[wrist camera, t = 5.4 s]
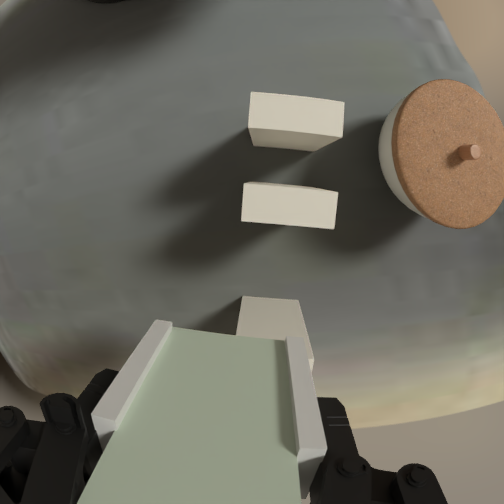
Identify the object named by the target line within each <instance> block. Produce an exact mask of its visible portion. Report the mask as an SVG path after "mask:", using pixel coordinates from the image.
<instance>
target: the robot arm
mask: <svg viewBox="0 0 504 504" xmlns="http://www.w3.org/2000/svg"><path fill="white" fill-rule="evenodd" d="M89 1H92V2H98V3H111V2H118V1H123V0H89ZM171 331H172V322H169V321H162V320H155V321H154V323H153V324H152V326H151V327H150V328H149V330H148V331H147V333H146V334H145V335H144V337H143V338H142V340H141V341H140V343H139V344H138V345H137V347H136V348H135V350H134V351H133V353H132V354H131V356H130V357H129V358H128V360H127V361H126V363H125V364H124V366H123V367H122V369H121V370H120V371H115V370H110V369H105V370H103V371H101V372H99V373H98V374H96V375H95V376H94V378H93V379H92V380H91V382H90V384H88V386H87V387H86V388H85V391H83V392H82V393H81V395H80V396H79V397H78V399H76V398H75V397H73V396H72V395H69V394H65V393H55V394H51V395H48V396H47V397H45V398H43V400H42V401H41V402H40V406H41V409H42V412H43V415H44V417H45V420H46V422H40V421H33V420H26V418H25V416H24V414H23V412H22V411H21V410H20V409H18V408H16V407H13V406H4V407H1V408H0V504H77V502H78V500H79V498H80V496H81V494H82V492H83V490H84V488H85V487H86V485H87V483H88V481H89V479H90V477H91V475H92V473H93V471H94V469H95V467H96V465H97V463H98V461H99V459H100V457H101V456H102V454H103V452H104V450H105V448H106V446H107V444H108V442H109V440H110V439H111V437H112V435H113V433H114V431H115V430H117V429H118V428H119V426H120V424H121V422H122V420H123V418H124V416H125V414H126V413H127V411H128V409H129V407H130V405H131V403H132V401H133V400H134V398H135V396H136V394H137V392H138V390H139V389H140V387H141V385H142V383H143V381H144V379H145V378H146V376H147V374H148V372H149V370H150V368H151V367H152V365H153V363H154V361H155V359H156V358H157V356H158V354H159V352H160V350H161V349H162V347H163V345H164V343H165V342H166V340H167V338H168V336H169V334H170V333H171ZM285 350H286V359H287V367H288V376H289V386H290V395H291V404H292V414H293V424H294V433H295V444H296V454H297V461H298V471H299V482H300V493H301V499H306V497H307V495H308V493H309V491H310V500H311V502H310V504H448V503H447V501H446V498H445V496H444V494H443V492H442V489H441V487H440V485H439V483H438V481H437V479H436V476H435V475H434V473H433V472H432V470H431V469H429V468H428V467H426V466H424V465H421V464H408V465H405V466H403V467H402V468H401V469H400V470H399V471H398V472H390V471H383V470H378V469H374V468H372V467H371V466H370V464H369V463H368V462H367V461H366V460H365V459H364V458H362V457H361V456H359V454H358V451H357V447H356V444H355V440H354V437H353V434H352V430H351V427H350V426H349V421H348V418H347V414H346V411H345V408H344V406H343V405H342V404H341V403H340V401H339V400H338V399H337V398H325V397H317V396H316V392H315V387H314V382H313V378H312V373H311V369H310V364H309V360H308V356H307V351H306V347H305V342H304V338H303V337H293V336H286V340H285Z"/></svg>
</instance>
